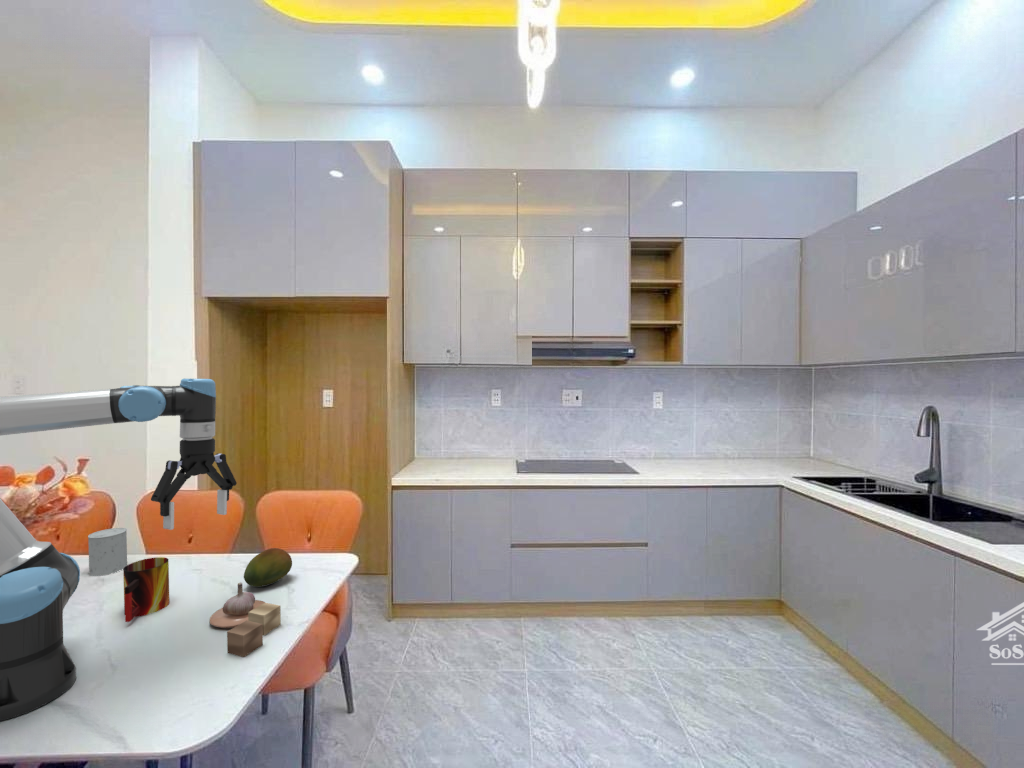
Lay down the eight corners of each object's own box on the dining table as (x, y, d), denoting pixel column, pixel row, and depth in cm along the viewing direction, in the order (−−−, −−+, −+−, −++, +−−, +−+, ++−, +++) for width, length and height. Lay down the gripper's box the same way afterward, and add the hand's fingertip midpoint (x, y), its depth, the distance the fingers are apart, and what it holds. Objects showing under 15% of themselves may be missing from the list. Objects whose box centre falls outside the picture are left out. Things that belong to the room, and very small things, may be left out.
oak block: (264, 635, 110) (263, 615, 110) (248, 632, 112) (248, 612, 112) (280, 625, 115) (280, 605, 115) (265, 621, 117) (265, 602, 117)
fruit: (298, 576, 143) (297, 544, 143) (270, 595, 131) (270, 560, 131) (265, 573, 145) (265, 542, 145) (235, 592, 133) (234, 558, 133)
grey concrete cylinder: (88, 569, 150) (87, 532, 150) (126, 561, 156) (125, 525, 156) (88, 579, 143) (87, 540, 143) (128, 570, 149) (127, 532, 149)
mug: (125, 627, 115) (124, 580, 114) (123, 607, 125) (122, 563, 125) (173, 613, 121) (172, 569, 121) (167, 595, 131) (166, 554, 131)
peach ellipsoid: (235, 634, 111) (235, 629, 111) (197, 625, 115) (197, 620, 115) (278, 608, 123) (278, 604, 123) (243, 601, 127) (243, 597, 127)
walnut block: (243, 657, 102) (243, 635, 102) (227, 653, 103) (227, 631, 103) (262, 645, 107) (262, 624, 106) (246, 641, 108) (246, 620, 108)
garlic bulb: (257, 614, 118) (256, 583, 118) (223, 623, 114) (223, 591, 114) (253, 602, 124) (253, 573, 124) (221, 611, 120) (221, 580, 120)
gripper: (154, 445, 104) (153, 537, 104) (251, 434, 127) (250, 510, 127) (133, 443, 107) (132, 533, 107) (232, 433, 130) (231, 507, 130)
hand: (196, 521), depth 117 cm, fingers open, 13 cm apart
